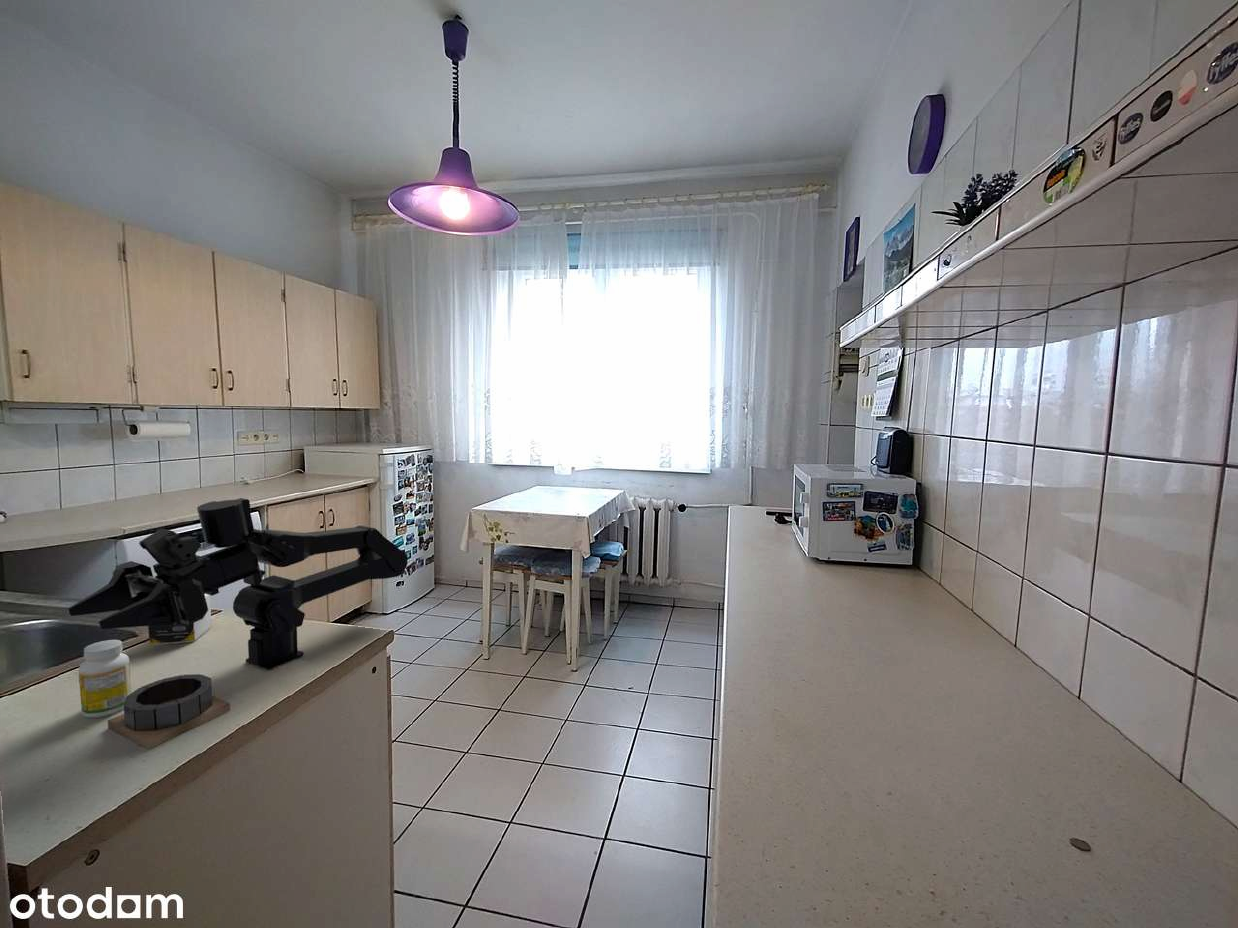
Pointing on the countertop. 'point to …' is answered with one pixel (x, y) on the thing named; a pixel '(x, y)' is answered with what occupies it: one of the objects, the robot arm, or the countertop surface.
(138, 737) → the socket holder
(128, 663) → the supplement bottle
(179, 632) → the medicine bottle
